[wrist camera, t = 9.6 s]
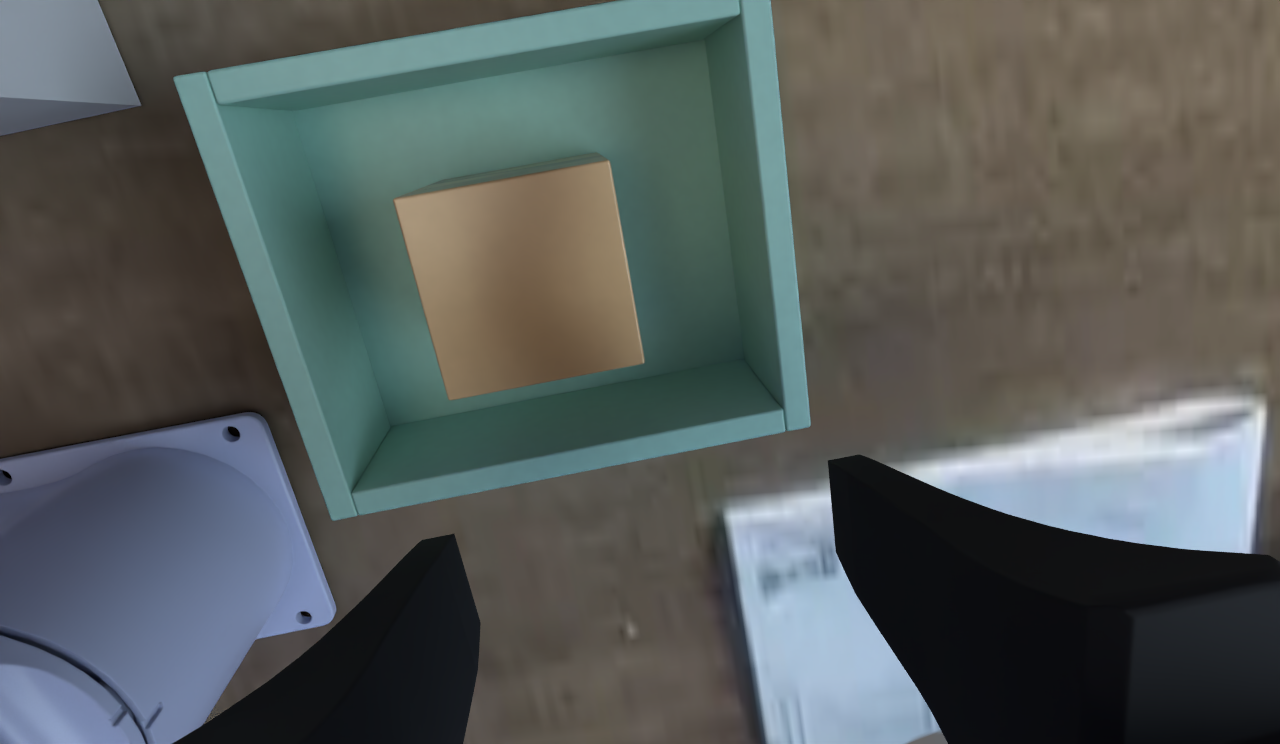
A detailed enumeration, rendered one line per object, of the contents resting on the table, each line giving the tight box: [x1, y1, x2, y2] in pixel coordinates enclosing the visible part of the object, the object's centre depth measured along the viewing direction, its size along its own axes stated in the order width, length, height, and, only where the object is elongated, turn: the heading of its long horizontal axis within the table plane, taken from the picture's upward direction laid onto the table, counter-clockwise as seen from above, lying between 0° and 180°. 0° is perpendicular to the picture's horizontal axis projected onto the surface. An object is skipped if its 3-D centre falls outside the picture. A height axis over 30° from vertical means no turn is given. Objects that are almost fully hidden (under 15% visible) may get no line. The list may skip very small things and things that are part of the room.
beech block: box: [393, 152, 645, 400], centre depth 18 cm, size 5×5×6 cm
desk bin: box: [173, 0, 811, 521], centre depth 19 cm, size 13×11×5 cm
